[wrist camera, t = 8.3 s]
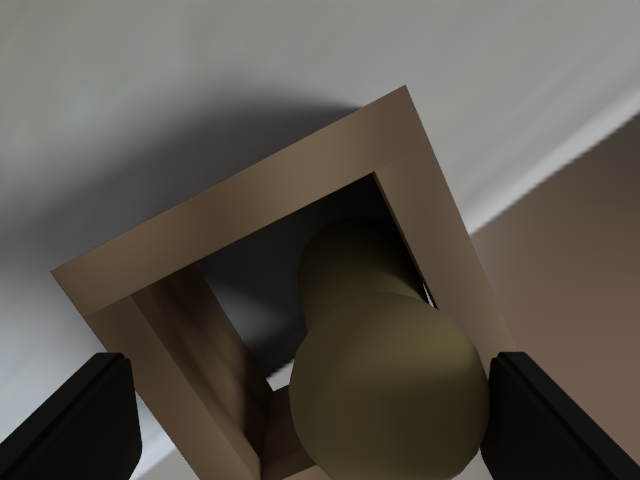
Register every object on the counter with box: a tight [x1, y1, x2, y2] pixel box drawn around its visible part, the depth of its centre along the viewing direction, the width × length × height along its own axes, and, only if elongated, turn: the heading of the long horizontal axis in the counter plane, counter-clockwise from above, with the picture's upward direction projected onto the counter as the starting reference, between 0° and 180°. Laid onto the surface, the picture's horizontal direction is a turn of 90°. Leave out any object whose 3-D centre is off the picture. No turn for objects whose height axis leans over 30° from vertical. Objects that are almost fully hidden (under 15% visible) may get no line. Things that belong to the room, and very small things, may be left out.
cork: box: [288, 217, 490, 480], centre depth 14 cm, size 6×6×11 cm
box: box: [50, 85, 517, 480], centre depth 16 cm, size 12×12×7 cm
